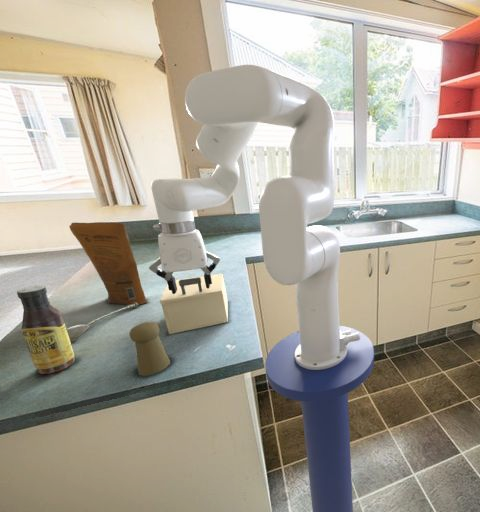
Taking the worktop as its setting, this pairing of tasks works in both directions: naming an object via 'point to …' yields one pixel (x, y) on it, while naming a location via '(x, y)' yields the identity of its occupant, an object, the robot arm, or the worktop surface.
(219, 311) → the cream open box
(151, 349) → the cork
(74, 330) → the soupspoon
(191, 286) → the lid
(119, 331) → the worktop surface
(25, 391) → the worktop surface
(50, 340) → the sauce bottle
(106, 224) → the pancake mix bag
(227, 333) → the worktop surface
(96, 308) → the worktop surface
